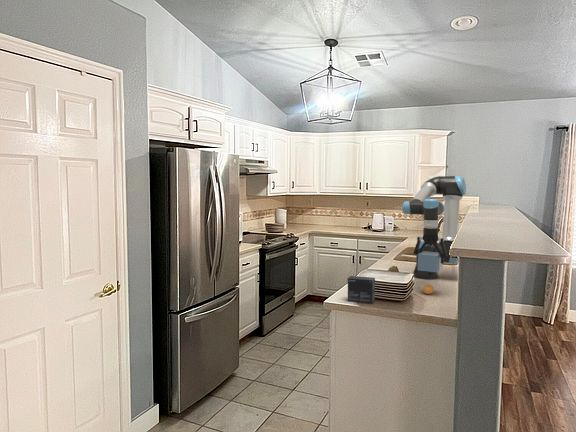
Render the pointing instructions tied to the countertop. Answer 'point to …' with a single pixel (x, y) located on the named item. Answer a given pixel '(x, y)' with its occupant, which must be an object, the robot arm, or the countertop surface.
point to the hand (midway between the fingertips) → (430, 268)
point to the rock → (393, 269)
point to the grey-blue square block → (428, 261)
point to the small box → (361, 289)
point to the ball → (428, 289)
